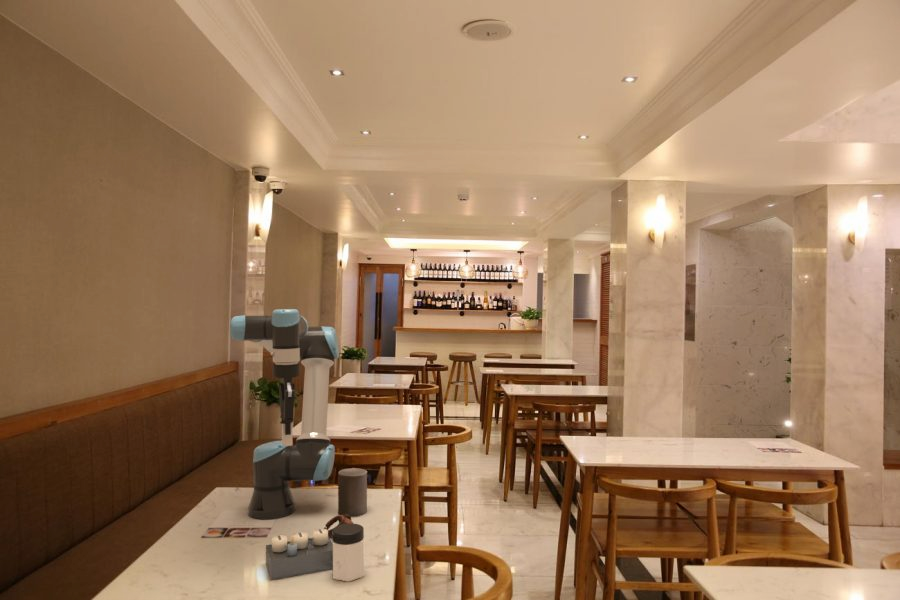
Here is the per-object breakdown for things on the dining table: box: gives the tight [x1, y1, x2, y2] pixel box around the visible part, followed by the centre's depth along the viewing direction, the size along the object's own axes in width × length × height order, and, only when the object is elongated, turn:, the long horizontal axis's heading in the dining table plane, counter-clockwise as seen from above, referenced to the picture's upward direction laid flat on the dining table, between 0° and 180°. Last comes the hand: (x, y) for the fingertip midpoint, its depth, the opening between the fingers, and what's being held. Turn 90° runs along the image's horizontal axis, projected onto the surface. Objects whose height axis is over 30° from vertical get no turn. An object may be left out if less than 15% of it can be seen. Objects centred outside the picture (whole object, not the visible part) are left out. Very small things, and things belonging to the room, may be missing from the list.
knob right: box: [312, 528, 329, 546], centre depth 173 cm, size 4×4×8 cm
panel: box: [265, 537, 333, 581], centre depth 170 cm, size 11×17×5 cm, turn 113°
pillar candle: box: [337, 467, 368, 518], centre depth 212 cm, size 10×10×15 cm
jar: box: [331, 523, 365, 583], centre depth 164 cm, size 9×8×12 cm
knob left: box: [271, 534, 288, 553], centre depth 168 cm, size 4×4×8 cm
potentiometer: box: [288, 536, 297, 556], centre depth 166 cm, size 2×2×4 cm
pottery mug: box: [323, 514, 355, 540], centre depth 189 cm, size 12×10×8 cm
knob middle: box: [292, 531, 309, 549], centre depth 170 cm, size 4×4×8 cm
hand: (287, 445), depth 180 cm, fingers closed
